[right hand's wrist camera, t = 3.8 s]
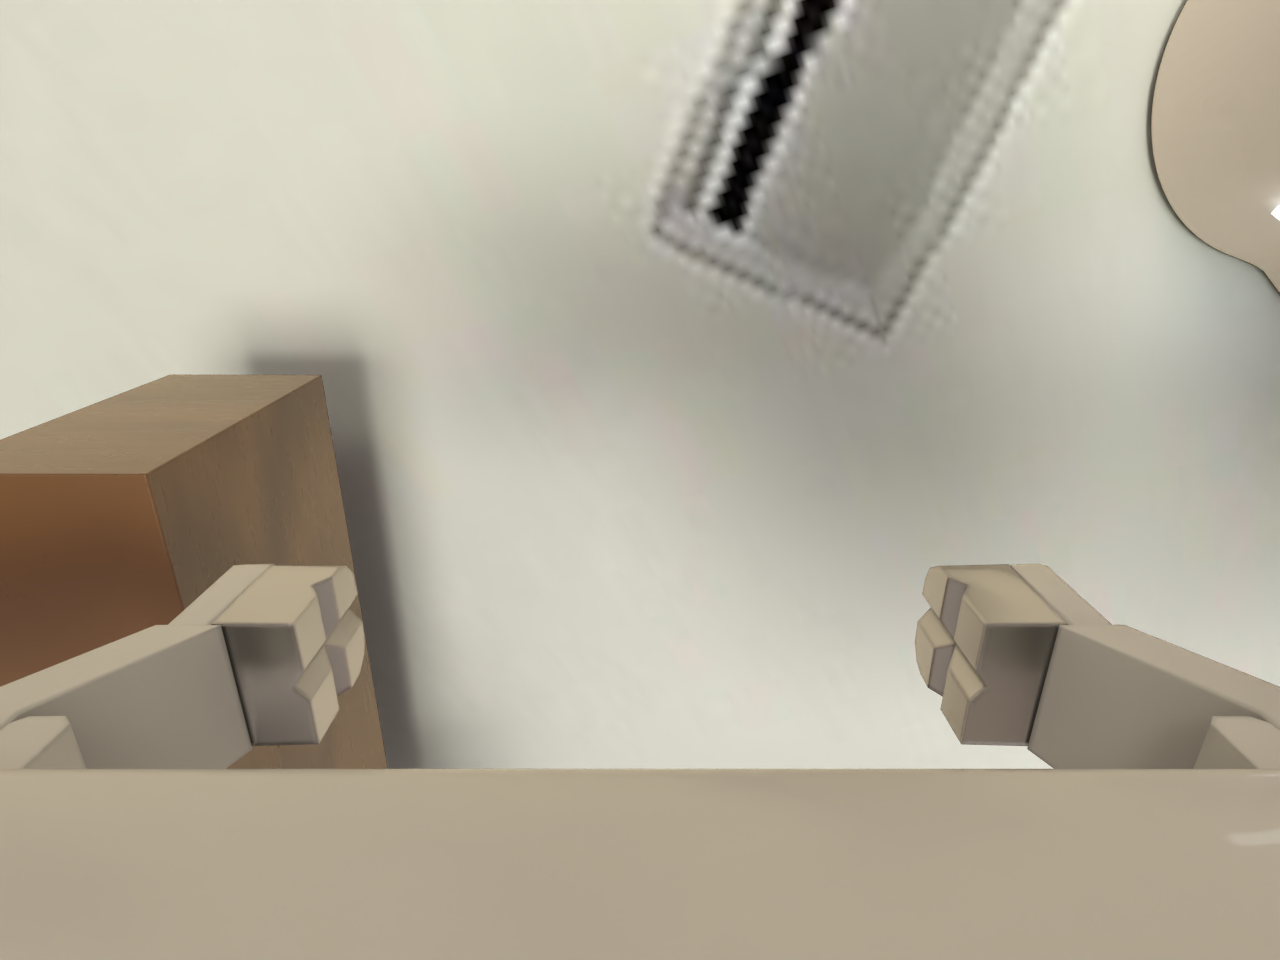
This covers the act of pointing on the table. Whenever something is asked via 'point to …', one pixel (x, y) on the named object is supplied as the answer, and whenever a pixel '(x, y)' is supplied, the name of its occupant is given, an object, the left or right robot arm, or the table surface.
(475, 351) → the table surface
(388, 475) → the table surface
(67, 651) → the box
